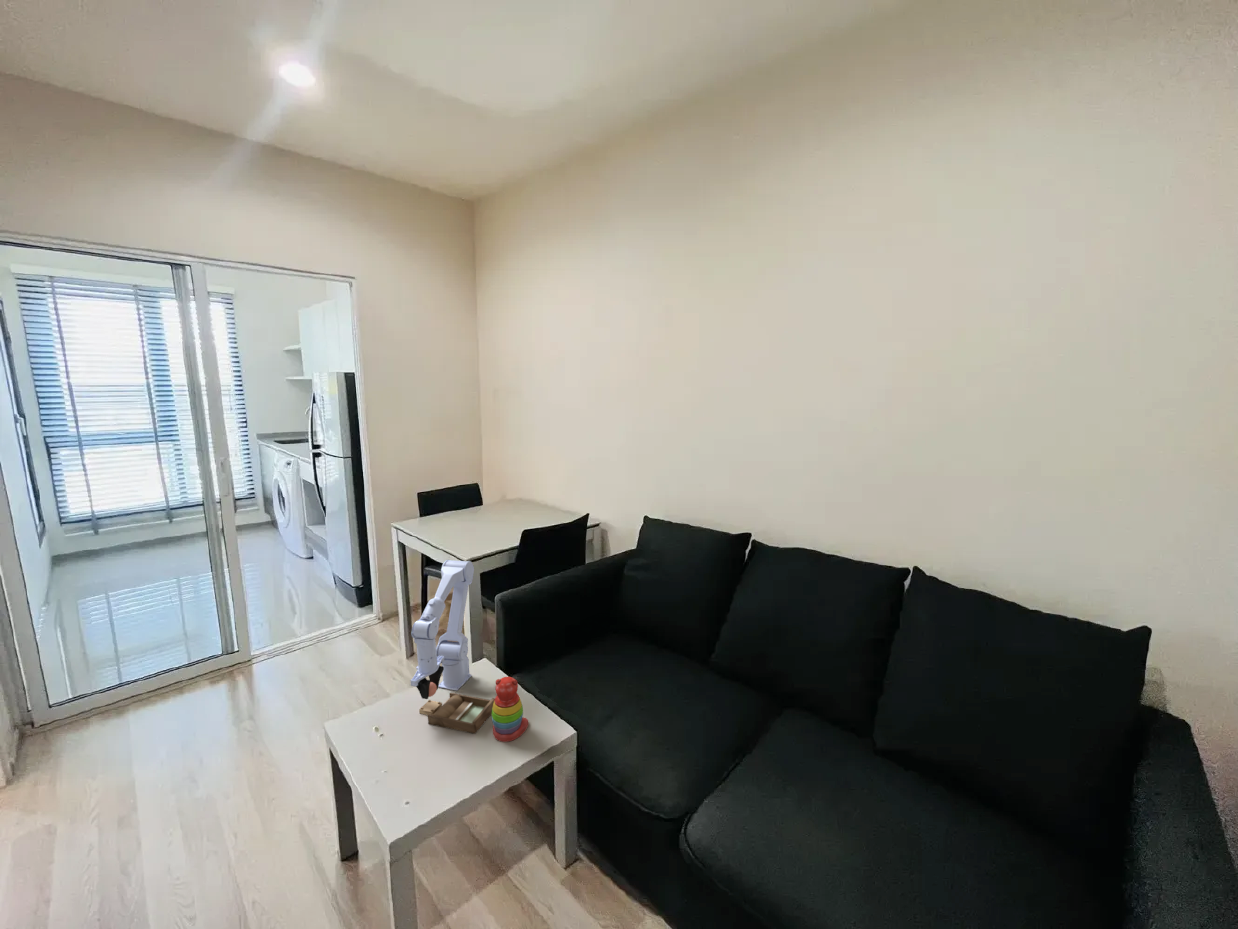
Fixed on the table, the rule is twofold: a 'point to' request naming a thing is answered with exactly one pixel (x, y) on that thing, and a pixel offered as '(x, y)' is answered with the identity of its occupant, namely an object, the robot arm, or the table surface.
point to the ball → (432, 689)
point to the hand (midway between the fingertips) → (429, 693)
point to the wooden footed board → (430, 707)
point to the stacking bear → (508, 711)
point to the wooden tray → (462, 713)
